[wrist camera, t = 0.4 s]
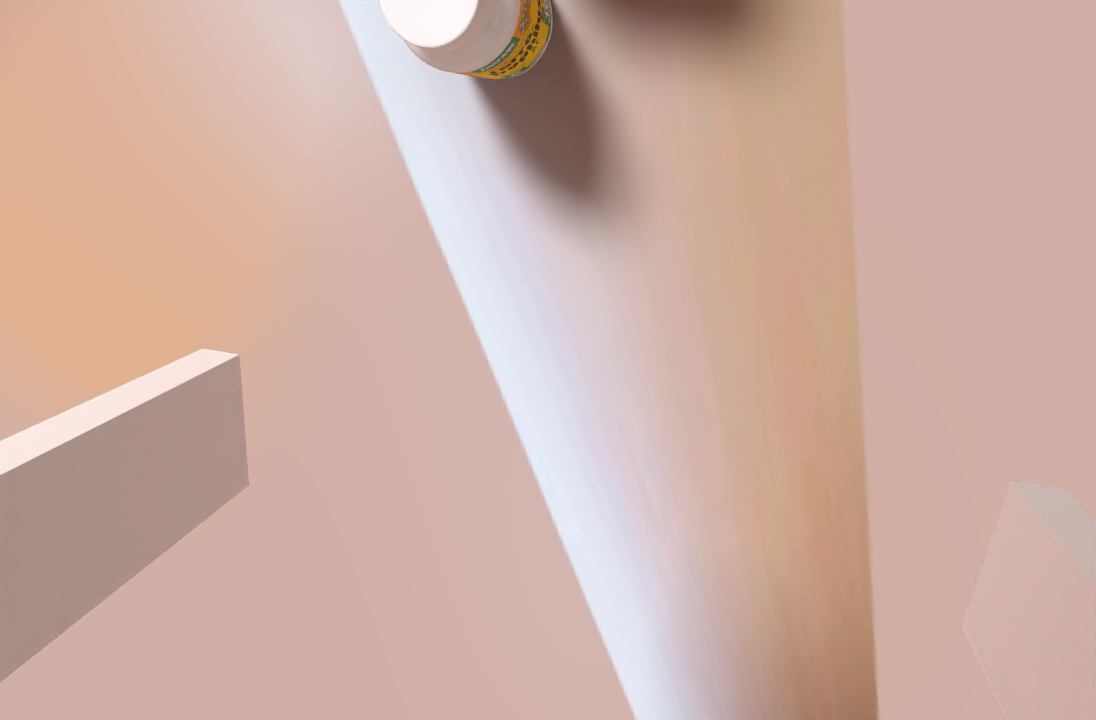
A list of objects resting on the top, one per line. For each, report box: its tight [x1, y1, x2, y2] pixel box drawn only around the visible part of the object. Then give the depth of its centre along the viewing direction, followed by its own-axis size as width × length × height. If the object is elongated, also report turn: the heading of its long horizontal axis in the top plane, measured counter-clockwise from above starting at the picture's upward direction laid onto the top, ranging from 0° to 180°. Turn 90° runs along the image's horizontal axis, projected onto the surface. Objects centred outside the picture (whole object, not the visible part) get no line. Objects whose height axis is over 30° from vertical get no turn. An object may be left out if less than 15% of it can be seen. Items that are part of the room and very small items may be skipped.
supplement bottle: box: [379, 0, 552, 79], centre depth 30 cm, size 5×5×10 cm
